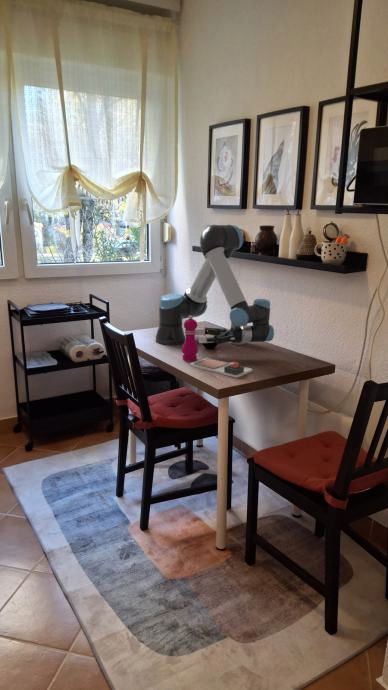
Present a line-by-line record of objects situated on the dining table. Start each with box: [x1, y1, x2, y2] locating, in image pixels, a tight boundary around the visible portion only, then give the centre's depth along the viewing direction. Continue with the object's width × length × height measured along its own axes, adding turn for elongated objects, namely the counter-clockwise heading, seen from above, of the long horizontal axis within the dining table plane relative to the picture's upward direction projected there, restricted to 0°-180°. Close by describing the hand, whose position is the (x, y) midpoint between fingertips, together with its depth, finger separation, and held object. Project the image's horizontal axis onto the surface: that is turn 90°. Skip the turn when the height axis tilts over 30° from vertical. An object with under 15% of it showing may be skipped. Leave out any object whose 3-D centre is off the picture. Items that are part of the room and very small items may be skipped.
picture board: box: [189, 357, 254, 379], centre depth 214 cm, size 12×24×3 cm, turn 51°
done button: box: [229, 361, 240, 369], centre depth 206 cm, size 4×4×2 cm
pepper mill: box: [181, 316, 199, 362], centre depth 223 cm, size 7×7×20 cm
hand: (194, 336), depth 223 cm, fingers open, 13 cm apart
